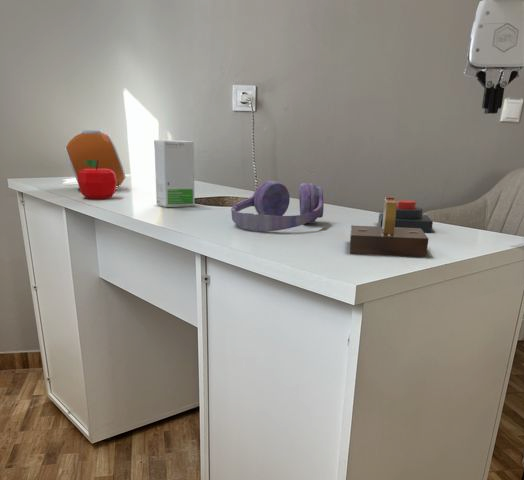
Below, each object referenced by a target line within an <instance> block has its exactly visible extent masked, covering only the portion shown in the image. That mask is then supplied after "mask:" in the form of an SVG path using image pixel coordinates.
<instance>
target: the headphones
mask: <svg viewBox="0 0 524 480" xmlns="http://www.w3.org/2000/svg"><path fill="white" fill-rule="evenodd" d="M298 189H299V191H298V192H299V193H298V195H299V196H298V197H299V198H298V199H299V200H298V201H299V214H298V215H297V214H296V215H285V214H286V213H287V211H288V209H289V206H290V200H291V198H290V193H289V190H288V188H287V186H286V185H285V184H283V182H281V181H275V180H267V181H264V182H263V183H261V184H260V185H258V186H257V188H256V189H255V191H254V193H253V194H252V196H250V197H248V198H246V199H242V200H240V201H238V202H236V203H234V205H233V206H231V209H230V210H231V211H230V212H231V220H232V221H233V223H234V224H235V225H236V226H238V227H240V228H242V229H244V230H248V231H251V232H259V233H263V232H265V233H266V232H267V233H268V232H276V231H283V230H288V229H293V228H297V227H300V226H303V225H305V224H308V223H314V222H316V220H318V219H319V218H321V219H322V218H323V217H324V190H323V187H322V186H316V185H315V184H314V183H306V182H303V183H301V184H300V185H299V188H298ZM251 207H254V209H255V211H256V214H255V213H251V212H250V213H249V212H241V211H242V210H245V209H247V208H251Z"/></svg>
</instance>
